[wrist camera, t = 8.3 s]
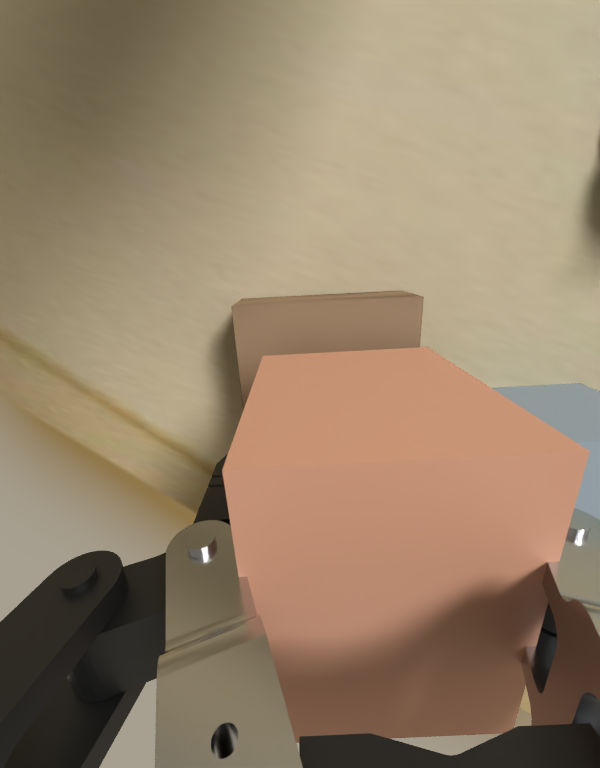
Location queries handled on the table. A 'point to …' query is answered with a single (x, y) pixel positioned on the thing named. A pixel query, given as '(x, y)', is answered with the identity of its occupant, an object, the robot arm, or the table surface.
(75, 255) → the table surface
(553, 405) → the brick slate
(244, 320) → the base block
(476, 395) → the brick terracotta
